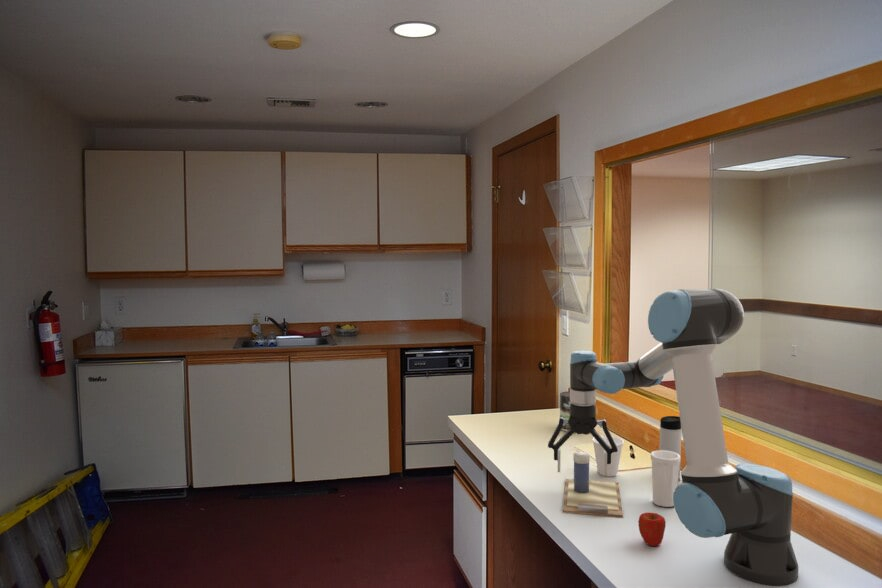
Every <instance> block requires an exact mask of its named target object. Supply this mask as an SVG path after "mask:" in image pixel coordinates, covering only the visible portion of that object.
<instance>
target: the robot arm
mask: <svg viewBox="0 0 882 588" xmlns="http://www.w3.org/2000/svg"><path fill="white" fill-rule="evenodd" d="M744 319H745V312H744V307H743V305H742V303H741V301H740V300H739V299H738V297H736V296H735V295H734V294H733V293H731V292H730V291H727V290H725V289H721V288H702V289H701V288H698V289H697V288H695V289H694V288H693V289H690V288H688V289H685V288H684V289H682V288H681V289H675V290H667V291H664V292H661V293H660V294H659V295H657V296H656V297H655V299H653V302H652V304H651V305H650V307H649V310H648V316H647V326H648V329H649V334H650V335H652V337H653V339H654V340H655V341H657V342H659V343H658V344H657V345H655V346H654V347H653V348H651V349H650V350H649V351H648V352H645V354H643V355H642V356H641V357H639V358H638V359H636V360H633V361H624V362H623V361H622V362H611V363H602V362H598V359H597V354H596V352H595V351H593V350H592V351H590V350H575V351H572V352H571V354H570V363H569V381H570V382H569V384H570V385H569V387H570V388H569V391H570V401H571V403H570V417H569V419H566V418H563V417H560V416H559V420H558V424H557V427H556V428H555V430H554V432H553V434H552V435H551V437H550V439H549V441H548V443H547V448H548V449H552V450H553V460H554V461H556V462H557V473H561V462H562V461H561V460H562V459H561V458H562V457H561V452H562V451H561V449H562V448H561V447H562V446H563V445H564V444H565V443H566V442H567V440H568V439H569V438H570V437H572V435H573V434H574V433H575V434H577V435H586V436H587V435H591V436H592V437H593V438H595V439H596V440H597V441H598V442H599V444H600V445H601V446H602V447H603V448H604V450H605V451H604V477H608V476H607V464H611V454H612V453H613V452H617V451H618V450H617V446H616V444H615V442H614V440H613V438H612V436H613V435H612V434H611V432H610V430H609V428H608V426H607V419H605V418H603V419H601V420H599V419H596V417H597V416H596V415H597V414H596V412H597V410H596V406H597V405H596V403H597V391H599V392H601V393H604V394H610V395H614V394H615V395H616V394H617V393H619V392H620V391H621V390H628V389H638V388H651V387H655V386H658V385H660V384H661V383H662V380H663V379H664V375H666V374H668V373H669V372H671V371H673V380H674V384H675V385H674V386H675V392H676V398H677V399H676V400H677V406H678V413H679V416H680V421H681V435H682V440H683V447H684V453H685V460H686V465H685V467H684V468H683V469H682V470H680V478H681V483H679V485H678V484H677V487H676V488H675V492H674V494H673V503H674V506H673V507H674V509H675V513H676V515H677V517H678V519H679V520H680V523H682V524H683V525H684V527H685V529H687V530H688V531H689V532H690V533H691V534H693V535H695V536H696V537H699V538H704V539H706V538H707V539H708V538H713V537H714V538H721V537H723V536H727V535H730V536H729V538H728V541H727V544H726V546H725V549H724V552H723V563H724V565H725V567H726V568H727V569H728V570H729V571H730V572H731V573H733V574H734V575H736V576H738V577H741V578H743V579H745V580H748V581H750V582H754V583H758V584H762V585H769V586H783V585H784V586H785V585H789V584H792V583H794V582H796V581H797V580H798V578H799V563H798V561H797V557H796V554H795V550H794V548H793V544H792V542H791V541H792V540H791V535H792V534H791V533H792V517H793V516H792V513H793V496H794V493H793V481H792V479H791V478H790V476H788V474H786V473H784V472H783V471H781V470H778V469H776V468H772V467H769V466H766V465H765V466H764V465H762V464H761V465H760V464H755V463H754V464H753V463H739V464H736V465H735V467H734V466H733V465H731V463H729V459H728V458H729V457H728V452H727V446H726V445H727V444H726V439H725V434H724V426H723V420H722V413H721V407H720V401H719V400H720V399H719V394H718V388H717V381H716V376H715V369H714V368H715V367H714V362H713V355H712V354H713V352H714V351H715V349H716V348H717V347H718V345H720V344H722V343H724V342H726V341H727V340H729V339H730V338H731V337H733V336H734V335H736V334H737V333H738V332H739V331H740V329H741V327H742V326H743V323H744ZM566 423H568V424H569V425H570V426H571V428H570V429H569V430H568V431H565V433H564V434H563V436H561V437H560V439H559V440H558V441H557V442H556V440H557V438H558V436H559V435H560V433H561V431H562V430H561V429H562V426H565V425H566ZM597 426H599V427H600V428H602V431H603V432H604V433H603V434H605V435H604V436H606V437H607V439H608V441H609V443H610V445H611V447H609V446H608V445H607V444H606V442H605V441H604V440H603V439H602V438H601V436H602V435H601V434H599V433H598V430H596V427H597Z"/></svg>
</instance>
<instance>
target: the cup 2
mask: <svg viewBox="0 0 882 588" xmlns="http://www.w3.org/2000/svg"><path fill="white" fill-rule="evenodd" d="M650 460H651V479H652V481H651V483H652V485H651V486H652V502H653V503H654V504H655V505H656V506H660V507H667V508H670V507H674V503H673V494H674V492H675V488H676V487H677V486H678V482H679V481H678V471H679V462H680V455H679V454H677V453H675V452H671V451H665V450H660V449H658V450H653V451H651V452H650Z"/></svg>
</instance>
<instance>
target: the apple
mask: <svg viewBox="0 0 882 588" xmlns="http://www.w3.org/2000/svg"><path fill="white" fill-rule="evenodd" d="M637 522H638V524H637V525H638V530H639V534H640V536H641V538H642V540H643V542H644V543H646V544H647V545H649V546H652V547H658V546H660V545H661V544H662V542H663V539H664V536H665V530H666V523H667V521H666V519H665V517H663V516H662V515H660V514H659V513H657V512H656V513H655V512H651V511H650V512H644V513H643V512H642V513H641V514H640V515H639V518H638V521H637Z"/></svg>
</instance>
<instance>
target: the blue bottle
mask: <svg viewBox="0 0 882 588" xmlns="http://www.w3.org/2000/svg"><path fill="white" fill-rule="evenodd" d="M590 458H591V457H590V454H589V453H588V452H586V451H575V452H574V453H573V479H574V491H575V492H578V493H587V492H589V480H590Z"/></svg>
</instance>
